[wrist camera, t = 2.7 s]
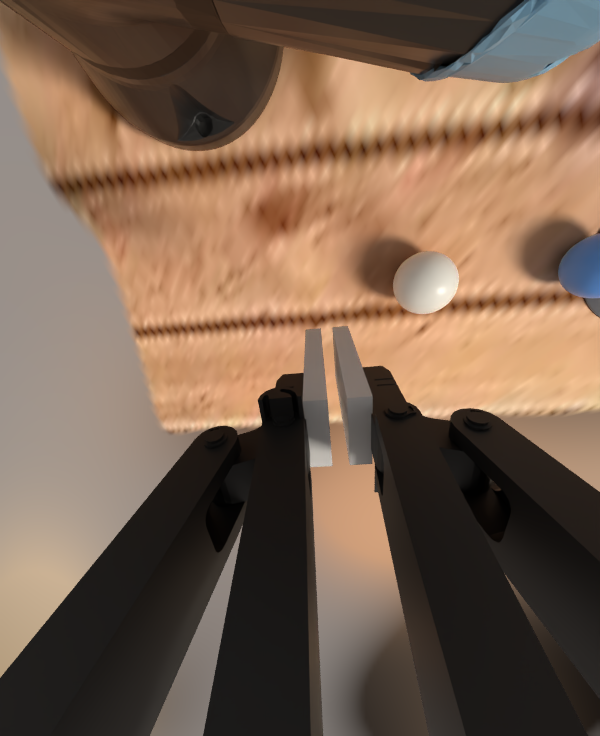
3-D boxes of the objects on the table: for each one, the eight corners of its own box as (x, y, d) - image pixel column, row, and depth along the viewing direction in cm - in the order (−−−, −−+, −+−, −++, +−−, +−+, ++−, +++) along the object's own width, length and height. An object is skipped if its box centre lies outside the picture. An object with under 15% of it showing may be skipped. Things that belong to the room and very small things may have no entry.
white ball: (375, 286, 29) (388, 299, 25) (412, 236, 27) (435, 239, 22) (416, 315, 31) (437, 332, 26) (455, 269, 28) (485, 279, 24)
